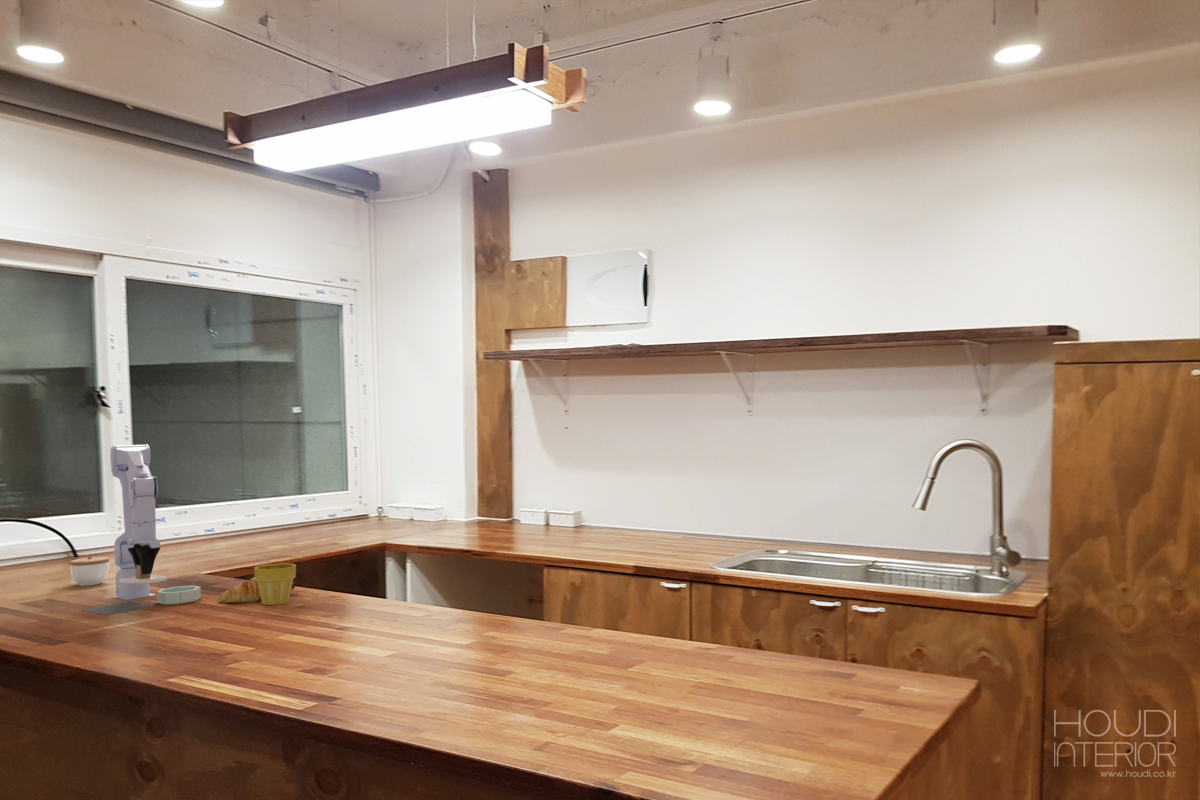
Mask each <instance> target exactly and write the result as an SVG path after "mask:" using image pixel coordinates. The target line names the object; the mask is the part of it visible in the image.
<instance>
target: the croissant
mask: <svg viewBox="0 0 1200 800" xmlns="http://www.w3.org/2000/svg"><path fill="white" fill-rule="evenodd" d="M295 588H296V582H294V581H293V583H292V587H291V591H293V589H295ZM216 599H217V602H219V603H229V604H235V603H236V604H240V603H241V604H243V603H255V602H260V601H261V602H262V600H261V596H260V591H259V586H258V582H257V581H256V580H255V576H254V577H252V578H250V579H249V580H247V581H243V582H240V583H239V584H238V585H236V586H235V587H231V588H229V589H227V590H226V591H224V592H223V593H221V594H218V596H217V597H216Z"/></svg>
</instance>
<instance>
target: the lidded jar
mask: <svg viewBox="0 0 1200 800" xmlns="http://www.w3.org/2000/svg"><path fill="white" fill-rule="evenodd" d="M69 566H70V569H69V570H70V576H71V578H72V580H73V581H74V582H75V583H76V584H78V586H82V587H84V586H95V585H99V584H100V585H101V584H102V582H103V581H104V580H105V578H106V577H107V575H108V574H109V569H110V557H107V556H92V553H88V554H87V557H82V558H75V559H72V560H70V561H69Z"/></svg>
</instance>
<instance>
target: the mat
mask: <svg viewBox="0 0 1200 800" xmlns="http://www.w3.org/2000/svg"><path fill="white" fill-rule="evenodd" d="M154 607H155V606H154V605H149V604H145V603H144V604H143V603H139V602H134V601H123V602H119V603H118V602H117V603H114V604H113V603H112V604H108V605H107V604H106V605H101V606H96V607H90V608H84V609H82V611H84V612H89V613H93V614H97V615H101V616H111V615H117V614H122V613H128V612H133V611H138V610H143V609H149V608H154Z"/></svg>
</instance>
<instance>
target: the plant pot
mask: <svg viewBox="0 0 1200 800" xmlns="http://www.w3.org/2000/svg"><path fill="white" fill-rule="evenodd" d="M296 573H297V565H296V564H294V563H284V562H283V563H272V564H271V563H270V564H269V563H268V564H262V565H257V566H255V567H254V577H255V580H256V581H257V582H258V586H259V591H260V596H261V604H262V605H265V606H274V605H275V606H277V605H284V604H288V603H289V602H290V597H291V591H292V590H291V587H292V583H293V582H294V579H295V578H296V575H297V574H296Z"/></svg>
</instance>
